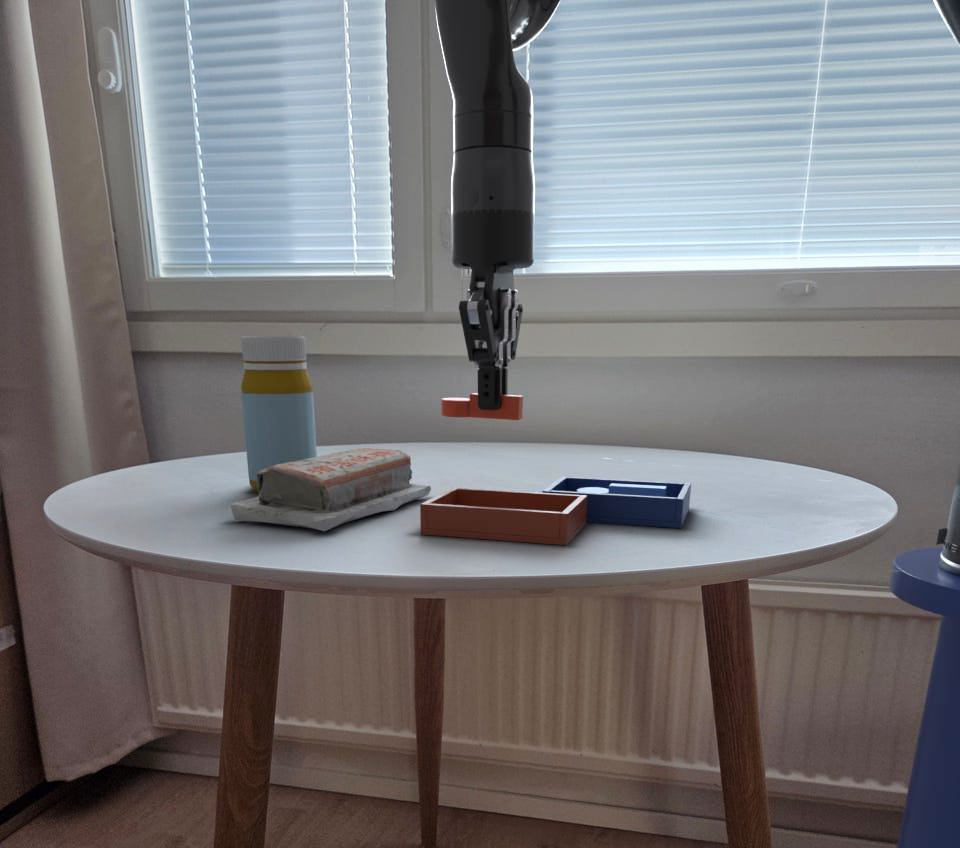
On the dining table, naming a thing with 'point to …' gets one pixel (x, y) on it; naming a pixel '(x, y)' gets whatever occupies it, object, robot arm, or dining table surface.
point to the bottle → (276, 402)
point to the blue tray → (629, 502)
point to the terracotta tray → (504, 515)
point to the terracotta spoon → (470, 408)
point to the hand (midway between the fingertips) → (492, 407)
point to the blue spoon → (628, 490)
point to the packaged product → (331, 489)
